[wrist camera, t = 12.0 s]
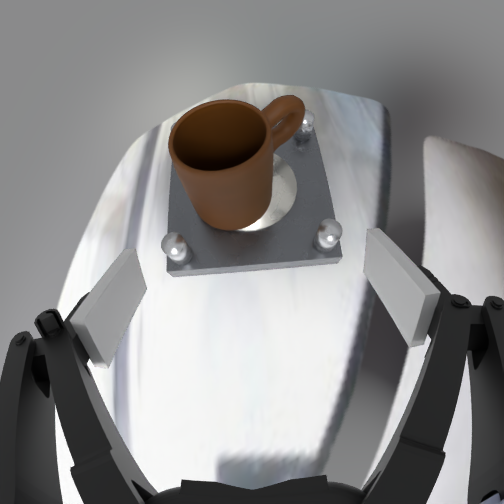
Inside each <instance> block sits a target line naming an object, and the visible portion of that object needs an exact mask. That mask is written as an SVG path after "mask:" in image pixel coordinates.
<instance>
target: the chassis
mask: <svg viewBox="0 0 504 504" xmlns="http://www.w3.org/2000/svg"><path fill="white" fill-rule="evenodd" d="M313 122H314V114H313V113H312V112H311V111H309V110H305V116H304V119H303V122H302V124H301V126H300V127H299V129H298V130H297V132H296V133H295V134H294V135H293V136H292V137H291V138H290V139H289V140H288V141H287V142H285V143H284V144H282V145H281V146H279V147H278V148H277V149H276V151H275V152H274V153H273V183H272V198H271V202H270V205H269V207H268V209H267V211H266V212H265V214H264V215H263V216H262V217H261V218H260V219H259V220H258V221H257V222H256V223H254V224H252V225H251V226H248V227H246V228H243V229H239V230H221V229H217V228H215V227H212V226H210V225H209V224H207V223H206V222H205V221H203V220H202V219H201V218H200V216H199V215H198V214H197V212H196V211H195V209H194V207H193V205H192V203H191V201H190V199H189V197H188V195H187V193H186V191H185V189H184V187H183V185H182V183H181V181H180V179H179V177H178V175H177V173H176V170H175V168H174V165H173V162H172V169H171V181H170V195H169V212H168V234H167V235H166V236H165V237H164V238H163V239H162V242H161V248H162V250H163V251H164V253H165V254H166V255H167V272H168V273H169V274H170V275H171V276H173V277H179V276H193V275H206V274H219V273H232V272H245V271H257V270H268V269H280V268H291V267H302V266H313V265H324V264H334V263H338V262H339V261H340V259H341V258H342V252H341V246H340V241H339V239H340V237H341V235H342V227H341V225H340V223H339V222H337V221H336V220H335V215H334V210H333V205H332V200H331V196H330V191H329V186H328V182H327V178H326V174H325V169H324V165H323V161H322V157H321V153H320V149H319V145H318V142H317V138H316V134H315V130H314V127H313ZM175 124H176V123H174V124H173V125H172V127H171V131H172V128H173V127H174V125H175ZM274 127H276V126H274ZM274 127H273V128H274ZM273 128H272V129H273Z"/></svg>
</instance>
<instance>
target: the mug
mask: <svg viewBox="0 0 504 504" xmlns="http://www.w3.org/2000/svg"><path fill="white" fill-rule="evenodd" d="M304 116H305V106H304V104H303V101H302V100H301V99H300V98H298V97H296V96H294V95H285V96H281V97H279V98H276V99H275V100H273V101H272V102H271V103H270V104H269V105H268V106H266V107H265V108H264V109H263V110H262V111H260V110H259V109H258V108H256V107H255V106H253V105H251V104H248V103H246V102H242V101H238V100H215V101H210V102H207V103H204V104H201V105H199V106H197V107H195V108H193V109H191V110H190V111H188V112H187V113H185V114H184V115H183V116H182V117H181V118H180V119H179V120H178V121H177V122H176V124H175V125H174V127H173V128H172V131H171V133H170V136H169V142H168V148H169V153H170V156H171V158H172V162H173V165H174V168H175V170H176V173H177V175H178V177H179V179H180V181H181V183H182V185H183V187H184V189H185V191H186V193H187V195H188V197H189V199H190V201H191V203H192V205H193V207H194V209H195V211H196V212H197V214H198V215H199V216H200V218H201V219H202V220H203V221H205V222H206V223H207V224H209V225H210V226H212V227H215V228H217V229H221V230H239V229H243V228H246V227H248V226H251V225H252V224H254V223H256V222H257V221H258V220H259V219H260V218H261V217H262V216H263V215H264V214H265V212H266V211H267V209H268V207H269V205H270V202H271V198H272V183H273V153H274V152H275V151H276V149H277V148H278V147H279V146H281V145H282V144H284V143H285V142H287V141H288V140H289V139H290V138H291V137H292V136H293V135H294V134H295V133H296V132H297V130H298V129H299V127H300V126H301V124H302V122H303V119H304ZM281 120H282V121H281ZM280 121H281V122H280ZM278 122H280V123H279V124H278V125H277V126H276V127H274V126H275V125H276V124H277V123H278ZM273 127H274V128H273ZM272 128H273V129H272Z"/></svg>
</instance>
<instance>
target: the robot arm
mask: <svg viewBox="0 0 504 504" xmlns="http://www.w3.org/2000/svg"><path fill="white" fill-rule="evenodd" d="M363 272H364V274H365V275H366V277H367V278H368V280H369V282H370V283H371V285H372V286H373V288H374V289H375V291H376V293H377V294H378V296H379V297H380V299H381V301H382V302H383V304H384V305H385V307H386V309H387V310H388V312H389V314H390V315H391V317H392V319H393V320H394V322H395V324H396V325H397V327H398V328H399V330H400V332H401V334H402V335H403V337H404V339H405V341H406V342H407V344H408V346H409V348H411V347H415V346H419V345H423V344H424V342H425V339H426V337H427V334H428V335H429V337H430V338H431V342H430V345H429V347H428V350H427V352H426V355H425V357H424V358H425V360H424V363H423V366H422V369H421V372H420V374H419V377H418V380H417V382H416V385H415V388H414V390H413V393H412V395H411V398H410V400H409V402H408V405H407V407H406V409H405V412H404V414H403V416H402V418H401V421H400V423H399V425H398V427H397V429H396V431H395V433H394V435H393V437H392V439H391V441H390V443H389V445H388V447H387V449H386V451H385V453H384V454H383V456H382V458H381V460H380V462H379V463H378V465H377V467H376V469H375V470H374V472H373V473H372V475H371V476H370V478H369V479H368V481H367V482H366V484H365V485H364V487H363V488H362V490H359V489H358V488H355V487H353V486H350V485H346V484H343V483H337V482H327V476H326V475H322V476H315V477H308V478H300V479H291V480H287V481H284V482H281V483H278V484H274V485H271V486H267V487H263V488H260V489H255V490H250V489H244V488H240V487H235V486H231V485H226V484H222V483H218V482H208V481H192V480H182V481H181V487H176V488H172V489H168V490H165V491H162V492H160V493H158V492H157V491H156V490H155V489H154V488H153V486H152V485H151V484H150V483H149V482H148V480H147V479H146V477H145V476H144V474H143V473H142V471H141V470H140V468H139V467H138V465H137V463H136V462H135V460H134V458H133V457H132V455H131V453H130V452H129V450H128V448H127V446H126V445H125V443H124V441H123V439H122V437H121V436H120V434H119V432H118V430H117V428H116V426H115V424H114V422H113V420H112V418H111V416H110V414H109V412H108V410H107V408H106V406H105V404H104V402H103V399H102V397H101V395H100V393H99V390H98V388H97V386H96V383H95V381H94V379H93V376H92V374H91V371H90V369H89V367H88V366H87V362H88V360H89V358H90V360H91V361H92V363H93V365H94V366H95V367H99V368H109V366H110V364H111V362H112V359H113V357H114V355H115V353H116V351H117V348H118V346H119V344H120V342H121V340H122V338H123V336H124V334H125V332H126V330H127V328H128V326H129V323H130V321H131V319H132V317H133V315H134V313H135V311H136V309H137V307H138V306H139V304H140V302H141V300H142V298H143V296H144V294H145V292H146V290H147V287H146V284H145V281H144V277H143V274H142V270H141V267H140V263H139V260H138V256H137V252H136V248H134V249H124V250H123V251H122V253H121V254H120V255H119V256H118V257H117V259H116V260H115V261H114V262H113V264H112V265H111V266H110V267H109V269H108V270H107V271H106V272H105V274H104V275H103V276H102V277H101V279H100V280H99V281H98V282H97V284H96V285H95V286H94V288H93V289H92V290H91V292H88V293H87V294H86V295H84V296H83V297H82V298H81V299H80V300H79V302H78V303H77V305H76V306H75V307H74V308H73V310H72V311H71V312H70V314H69V315H68V317H67V318H66V319H65V321H64V322H63V320H62V318H61V316H60V314H59V312H58V310H56V309H49V310H46V311H44V312H42V313H41V314H40V315H38V316H37V318H36V319H35V322H34V323H35V326H36V327H37V329H38V331H39V333H40V334H41V336H42V338H38V339H33V337H32V335H31V334H30V333H29V332H27V331H24V332H21V333H18V334H17V335H15V336H14V338H13V339H12V340H11V342H10V345H9V349H8V352H7V356H6V359H5V363H4V367H3V371H2V376H1V380H0V504H63V501H62V495H61V489H60V482H59V474H58V465H57V453H56V437H55V405H56V409H57V412H58V416H59V419H60V423H61V426H62V429H63V433H64V436H65V439H66V442H67V445H68V447H69V450H70V453H71V456H72V458H73V461H74V464H75V465H74V466H73V467H71V470H70V471H71V475H72V478H73V480H74V483H75V485H76V487H77V490H78V492H79V494H80V496H81V499H82V501H83V503H84V504H426V503H427V500H428V498H429V496H430V494H431V492H432V490H433V487H434V485H435V483H436V480H437V478H438V476H439V473H440V471H441V468H442V465H443V463H444V459H445V452H444V451H443V447H444V444H445V441H446V438H447V435H448V432H449V428H450V425H451V422H452V418H453V415H454V411H455V407H456V404H457V400H458V395H459V391H460V387H461V382H462V377H463V372H464V367H465V361H466V355H467V358H468V366H469V376H470V387H471V404H472V449H471V465H470V476H469V485H468V504H504V300H503V299H501V298H500V297H496V296H488V297H486V299H485V301H484V304H483V306H477V305H471V303H470V301H469V300H468V299H467V298H465V297H463V296H461V295H456V294H452V295H451V293H450V292H449V291H448V290H447V289H446V288H445V287H444V286H443V285H442V284H441V283H440V281H438V279H437V278H436V277H434V275H433V274H432V273H431V272H430V271H429V270H428V269H426V268H424V267H422V266H421V265H420V266H416V265H415V264H414V263H413V262H412V261H411V260H410V259H409V258H408V257H407V256H406V255H405V254H404V252H402V250H401V249H400V248H398V246H397V245H396V244H395V243H394V242H393V241H392V240H391V239H390V238H389V237H388V236H387V235H386V234H385V233H384V232H382V231H381V230H380V229H379V228H375V229H367V237H366V249H365V260H364V269H363Z"/></svg>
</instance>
